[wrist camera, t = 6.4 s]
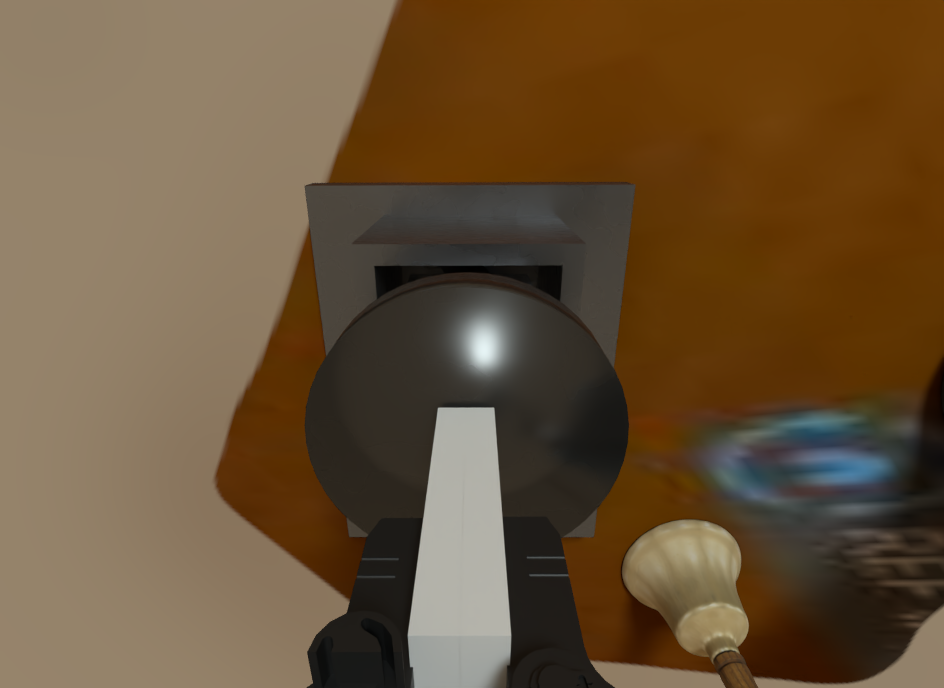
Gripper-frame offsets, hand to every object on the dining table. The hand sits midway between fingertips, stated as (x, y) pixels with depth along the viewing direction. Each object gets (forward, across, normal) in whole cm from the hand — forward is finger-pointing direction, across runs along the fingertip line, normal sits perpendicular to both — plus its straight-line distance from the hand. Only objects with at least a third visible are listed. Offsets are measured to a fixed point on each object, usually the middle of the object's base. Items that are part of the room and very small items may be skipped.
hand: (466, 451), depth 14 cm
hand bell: (+16, -15, +20) cm, 29 cm away
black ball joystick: (+9, 0, +4) cm, 10 cm away
